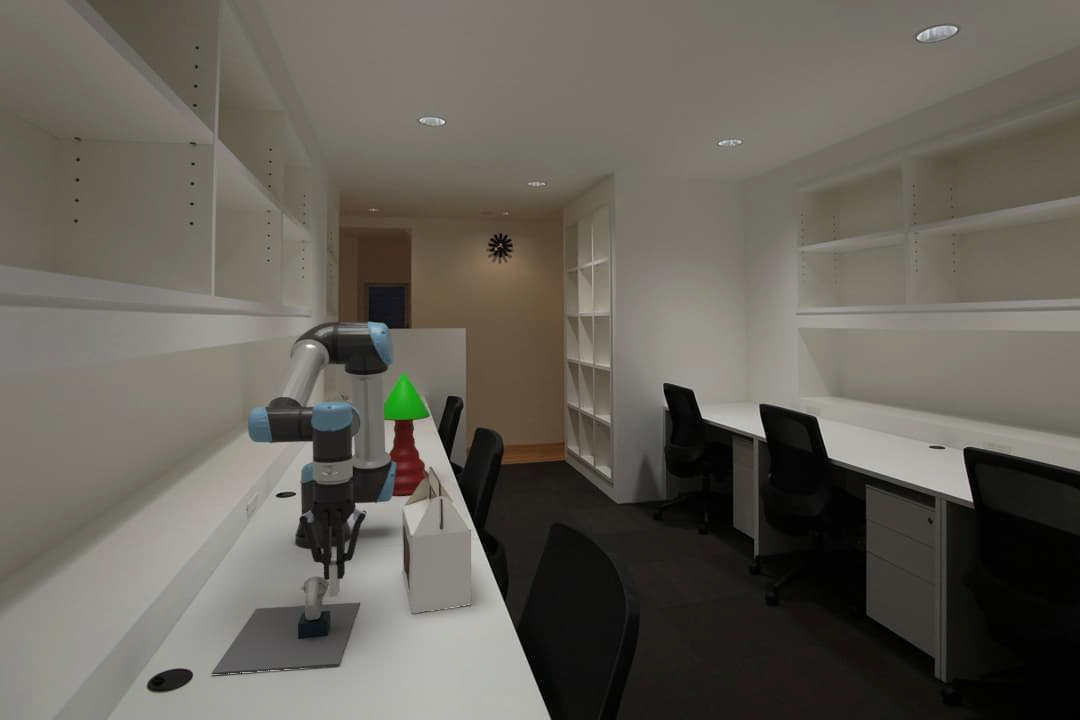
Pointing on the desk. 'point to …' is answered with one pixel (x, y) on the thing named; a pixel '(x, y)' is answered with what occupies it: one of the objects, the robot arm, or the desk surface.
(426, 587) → the gable box
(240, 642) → the rubber mat
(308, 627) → the watch
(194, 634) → the desk surface
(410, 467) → the table lamp
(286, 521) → the desk surface
